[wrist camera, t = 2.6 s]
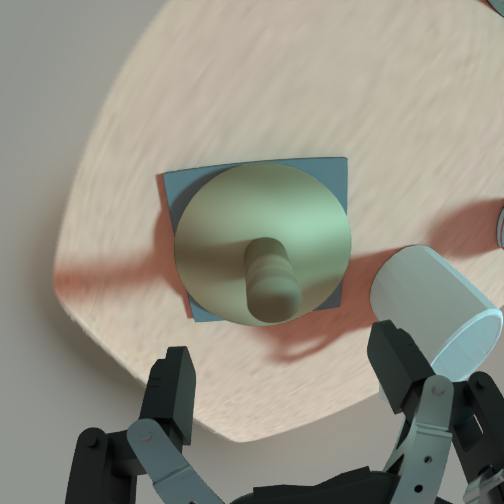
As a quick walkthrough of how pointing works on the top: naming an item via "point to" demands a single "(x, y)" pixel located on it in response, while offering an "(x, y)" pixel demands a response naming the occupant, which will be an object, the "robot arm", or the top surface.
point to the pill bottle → (501, 230)
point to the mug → (436, 311)
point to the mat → (191, 180)
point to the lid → (262, 244)
